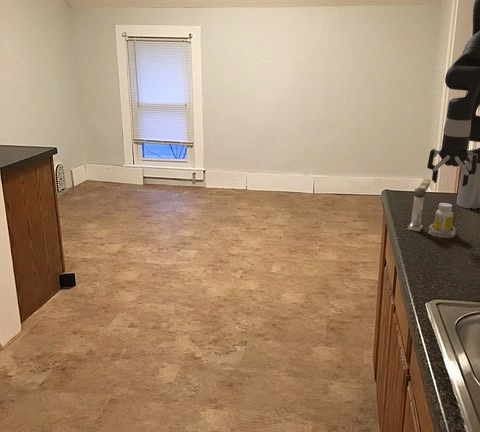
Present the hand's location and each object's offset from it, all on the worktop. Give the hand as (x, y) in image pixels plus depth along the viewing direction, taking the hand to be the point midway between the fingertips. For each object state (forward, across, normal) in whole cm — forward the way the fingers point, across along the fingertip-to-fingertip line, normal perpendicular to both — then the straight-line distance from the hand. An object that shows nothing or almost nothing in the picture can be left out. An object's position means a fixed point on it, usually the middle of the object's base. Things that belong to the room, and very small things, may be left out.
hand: (449, 184), depth 177 cm
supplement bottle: (+17, 0, 0) cm, 17 cm away
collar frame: (+17, +3, 0) cm, 17 cm away
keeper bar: (+5, +8, -6) cm, 12 cm away
